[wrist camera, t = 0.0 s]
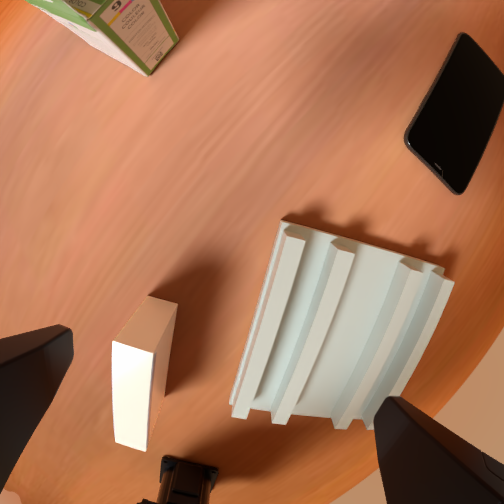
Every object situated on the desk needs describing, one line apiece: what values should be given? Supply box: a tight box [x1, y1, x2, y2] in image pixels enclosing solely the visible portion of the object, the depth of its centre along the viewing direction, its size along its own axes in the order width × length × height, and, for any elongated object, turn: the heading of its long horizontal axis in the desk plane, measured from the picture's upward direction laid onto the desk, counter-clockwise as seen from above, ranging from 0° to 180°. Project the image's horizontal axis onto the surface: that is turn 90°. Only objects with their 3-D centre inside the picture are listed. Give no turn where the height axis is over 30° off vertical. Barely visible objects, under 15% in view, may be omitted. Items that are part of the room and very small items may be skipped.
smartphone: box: [404, 32, 504, 195], centre depth 18 cm, size 7×1×15 cm
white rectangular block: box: [112, 296, 178, 452], centre depth 20 cm, size 10×3×7 cm, turn 166°
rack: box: [229, 220, 455, 430], centre depth 22 cm, size 16×14×3 cm
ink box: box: [25, 0, 179, 77], centre depth 11 cm, size 7×4×13 cm, turn 53°
